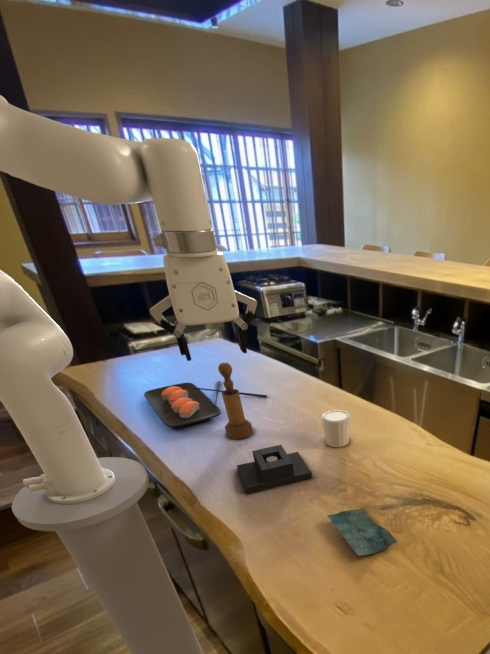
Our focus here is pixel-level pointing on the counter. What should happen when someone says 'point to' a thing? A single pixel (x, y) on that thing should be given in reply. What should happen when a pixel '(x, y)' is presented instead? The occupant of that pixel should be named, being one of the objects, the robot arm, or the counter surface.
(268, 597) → the counter surface
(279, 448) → the black block with hole
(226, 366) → the wooden pepper mill
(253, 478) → the base pad
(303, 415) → the counter surface
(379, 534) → the nori seaweed sheet
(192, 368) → the counter surface
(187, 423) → the sushi plate
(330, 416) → the white cup
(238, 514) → the counter surface
